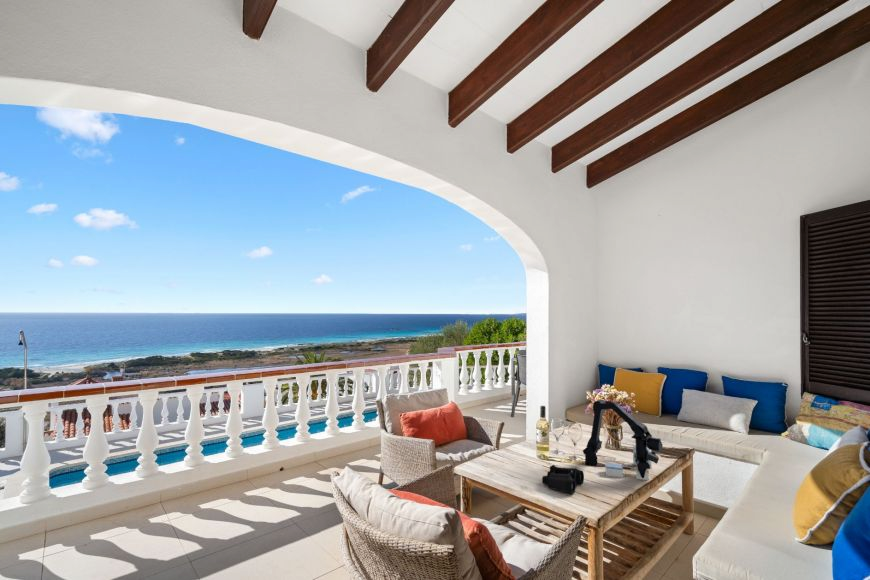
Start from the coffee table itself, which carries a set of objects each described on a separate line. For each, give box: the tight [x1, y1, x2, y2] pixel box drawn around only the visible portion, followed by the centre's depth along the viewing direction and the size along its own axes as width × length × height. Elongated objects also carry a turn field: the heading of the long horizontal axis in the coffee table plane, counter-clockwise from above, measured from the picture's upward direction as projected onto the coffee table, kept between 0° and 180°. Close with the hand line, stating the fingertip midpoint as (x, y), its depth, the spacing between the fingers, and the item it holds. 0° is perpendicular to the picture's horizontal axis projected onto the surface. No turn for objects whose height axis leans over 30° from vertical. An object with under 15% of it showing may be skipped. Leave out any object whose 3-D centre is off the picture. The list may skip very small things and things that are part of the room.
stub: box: [635, 466, 650, 481], centre depth 228 cm, size 6×5×5 cm
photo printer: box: [632, 444, 653, 470], centre depth 245 cm, size 10×4×12 cm, turn 43°
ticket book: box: [604, 462, 626, 478], centre depth 233 cm, size 10×6×5 cm, turn 69°
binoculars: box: [541, 464, 585, 494], centre depth 220 cm, size 22×19×10 cm
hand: (642, 475), depth 228 cm, fingers closed on stub, 5 cm apart
